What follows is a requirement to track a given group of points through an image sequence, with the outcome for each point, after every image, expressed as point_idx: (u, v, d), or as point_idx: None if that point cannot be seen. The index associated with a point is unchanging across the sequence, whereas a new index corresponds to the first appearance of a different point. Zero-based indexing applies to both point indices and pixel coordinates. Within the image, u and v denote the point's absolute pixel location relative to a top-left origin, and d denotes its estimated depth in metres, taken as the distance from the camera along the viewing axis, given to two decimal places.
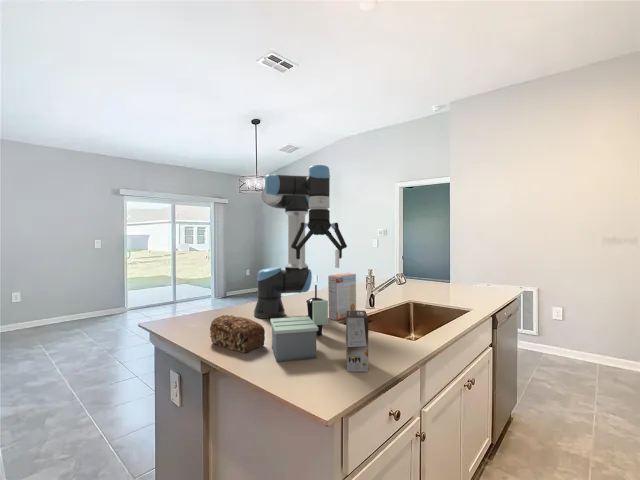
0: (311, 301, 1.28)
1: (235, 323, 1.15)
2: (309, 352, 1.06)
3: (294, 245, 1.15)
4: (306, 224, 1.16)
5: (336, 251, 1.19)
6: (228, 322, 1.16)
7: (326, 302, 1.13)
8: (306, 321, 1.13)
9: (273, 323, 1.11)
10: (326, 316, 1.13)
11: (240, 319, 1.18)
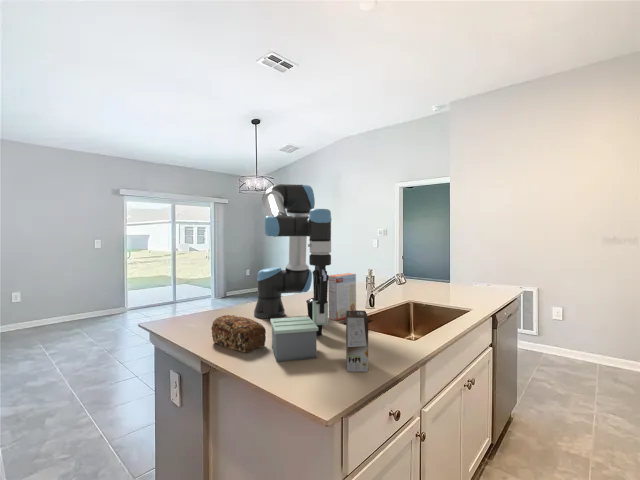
0: (311, 301, 1.28)
1: (236, 323, 1.15)
2: (309, 352, 1.06)
3: (314, 295, 1.17)
4: None
5: None
6: (229, 322, 1.16)
7: None
8: (306, 321, 1.13)
9: (273, 323, 1.11)
10: (326, 316, 1.13)
11: (241, 319, 1.18)
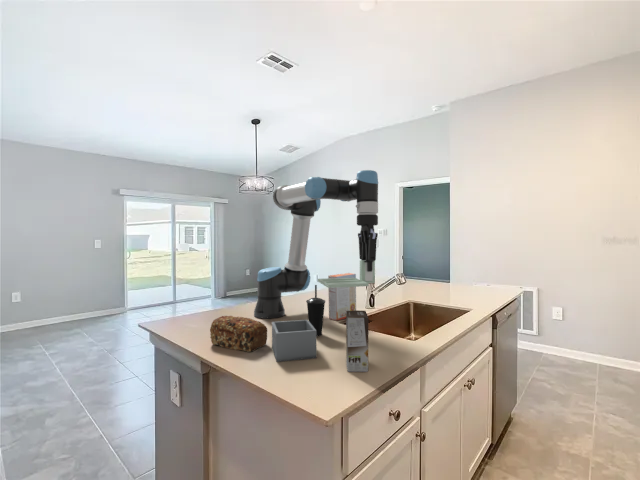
0: (311, 301, 1.28)
1: (238, 323, 1.15)
2: (309, 352, 1.06)
3: (360, 256, 1.21)
4: None
5: None
6: (231, 322, 1.16)
7: None
8: (354, 280, 1.17)
9: (323, 281, 1.15)
10: (373, 275, 1.17)
11: (242, 319, 1.19)
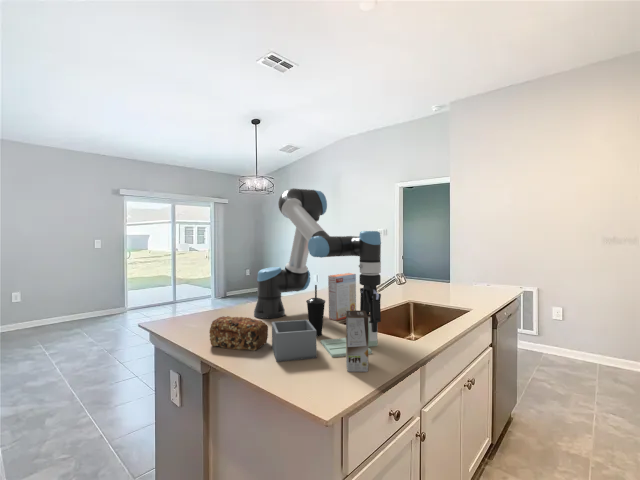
0: (311, 301, 1.28)
1: (242, 323, 1.15)
2: (309, 352, 1.06)
3: None
4: (363, 289, 1.22)
5: None
6: (233, 322, 1.15)
7: None
8: None
9: (326, 345, 1.15)
10: None
11: (243, 319, 1.19)
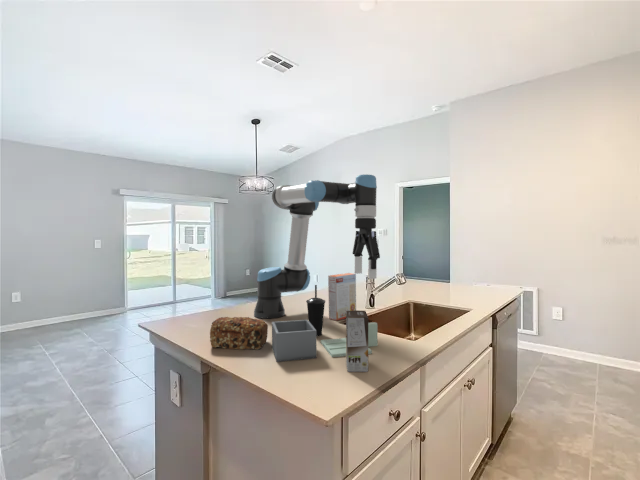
0: (311, 301, 1.28)
1: (244, 322, 1.16)
2: (309, 352, 1.06)
3: (353, 251, 1.28)
4: (359, 232, 1.24)
5: None
6: (235, 322, 1.15)
7: (376, 324, 1.18)
8: None
9: (326, 345, 1.15)
10: (376, 338, 1.18)
11: (243, 318, 1.19)
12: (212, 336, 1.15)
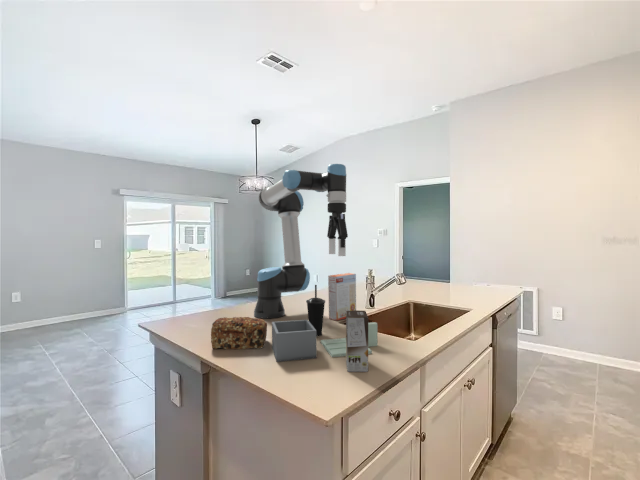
0: (311, 301, 1.28)
1: (246, 322, 1.16)
2: (309, 352, 1.06)
3: (327, 234, 1.42)
4: (332, 217, 1.38)
5: None
6: (237, 322, 1.15)
7: (376, 324, 1.18)
8: None
9: (326, 345, 1.15)
10: (376, 338, 1.18)
11: (244, 318, 1.19)
12: (213, 337, 1.14)
